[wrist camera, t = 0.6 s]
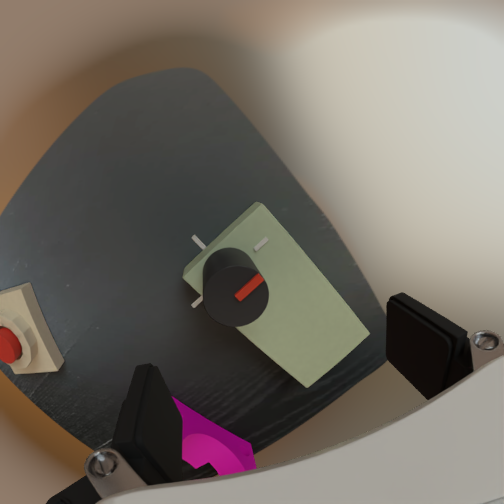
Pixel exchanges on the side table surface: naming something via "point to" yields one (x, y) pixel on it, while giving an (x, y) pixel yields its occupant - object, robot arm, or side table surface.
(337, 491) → the robot arm
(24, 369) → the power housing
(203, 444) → the toy block
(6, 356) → the power button
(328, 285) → the dial panel
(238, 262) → the timer dial
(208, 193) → the side table surface
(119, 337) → the side table surface
